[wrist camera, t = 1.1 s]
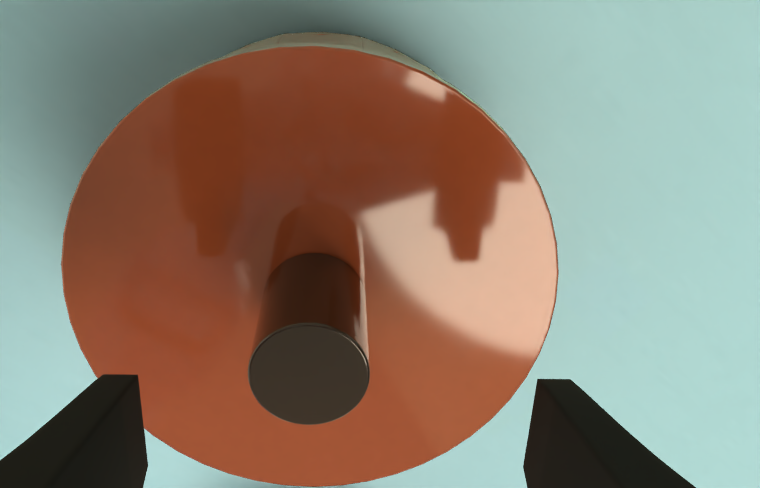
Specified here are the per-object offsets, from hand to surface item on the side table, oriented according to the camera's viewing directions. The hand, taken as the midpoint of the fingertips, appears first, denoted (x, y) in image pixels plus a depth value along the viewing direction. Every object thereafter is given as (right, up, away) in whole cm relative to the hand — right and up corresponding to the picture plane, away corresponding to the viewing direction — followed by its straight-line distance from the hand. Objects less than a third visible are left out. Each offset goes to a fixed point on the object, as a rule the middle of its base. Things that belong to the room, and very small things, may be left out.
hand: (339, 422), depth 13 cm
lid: (-1, +2, +4) cm, 5 cm away
